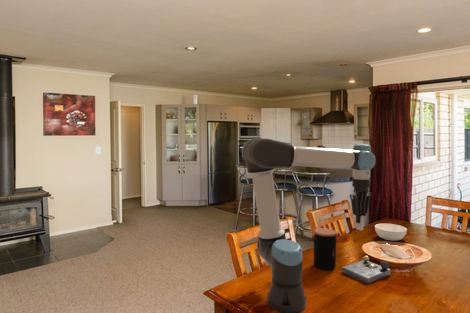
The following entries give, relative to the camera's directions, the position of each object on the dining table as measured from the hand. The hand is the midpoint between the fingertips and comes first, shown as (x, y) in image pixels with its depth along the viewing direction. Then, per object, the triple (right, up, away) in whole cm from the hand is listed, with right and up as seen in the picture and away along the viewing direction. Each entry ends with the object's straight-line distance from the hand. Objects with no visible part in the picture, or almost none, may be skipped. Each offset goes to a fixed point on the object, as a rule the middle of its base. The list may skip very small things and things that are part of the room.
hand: (359, 229), depth 150 cm
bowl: (+40, -18, +56) cm, 71 cm away
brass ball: (+8, -17, +12) cm, 23 cm away
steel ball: (+9, -20, +7) cm, 23 cm away
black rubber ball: (+13, -18, +4) cm, 22 cm away
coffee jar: (-13, -22, +12) cm, 28 cm away
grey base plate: (+5, -22, +5) cm, 23 cm away
